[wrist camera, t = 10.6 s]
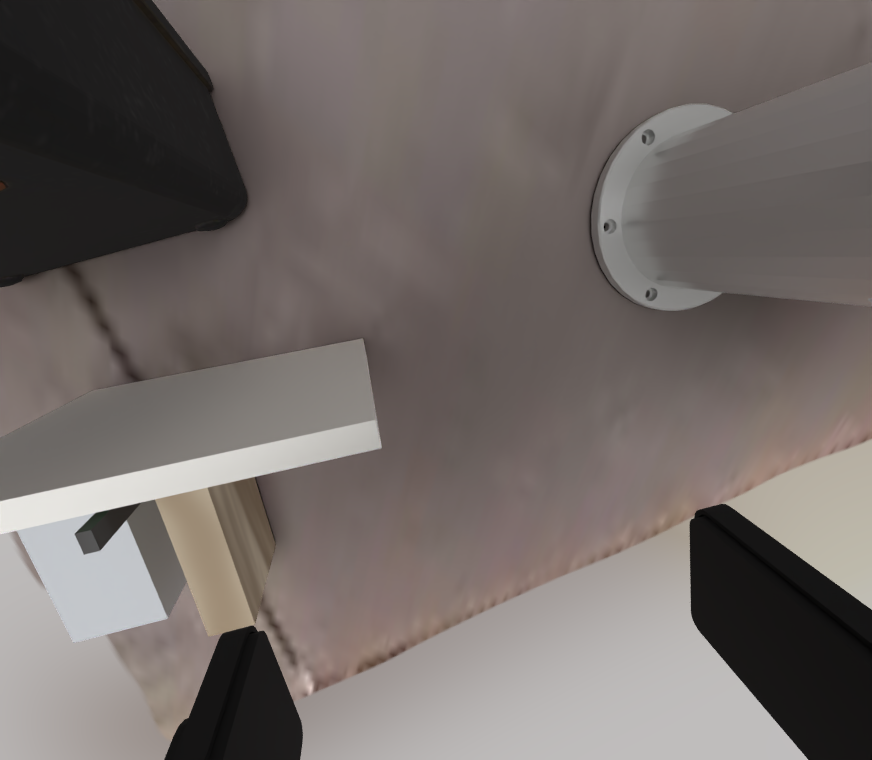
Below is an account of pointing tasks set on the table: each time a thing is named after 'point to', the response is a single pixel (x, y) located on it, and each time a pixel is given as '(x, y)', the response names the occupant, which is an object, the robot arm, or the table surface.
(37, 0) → the voltmeter
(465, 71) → the table surface
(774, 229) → the robot arm
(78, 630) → the white board with blocks
